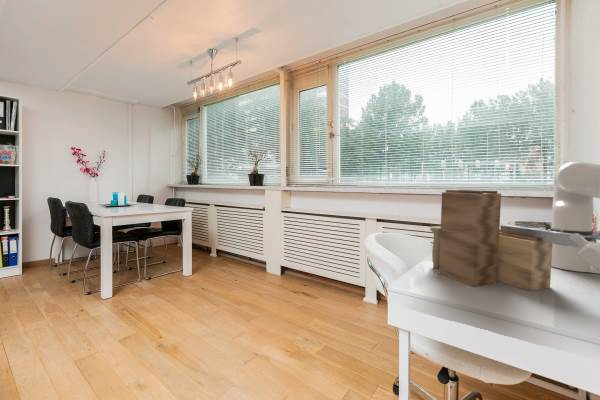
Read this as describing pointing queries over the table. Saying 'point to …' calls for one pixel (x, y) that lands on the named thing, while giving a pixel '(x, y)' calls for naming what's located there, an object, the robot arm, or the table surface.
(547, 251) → the light wood grain block
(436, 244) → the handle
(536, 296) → the table surface
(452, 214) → the tall wood grain block
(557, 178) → the robot arm
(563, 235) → the bar
